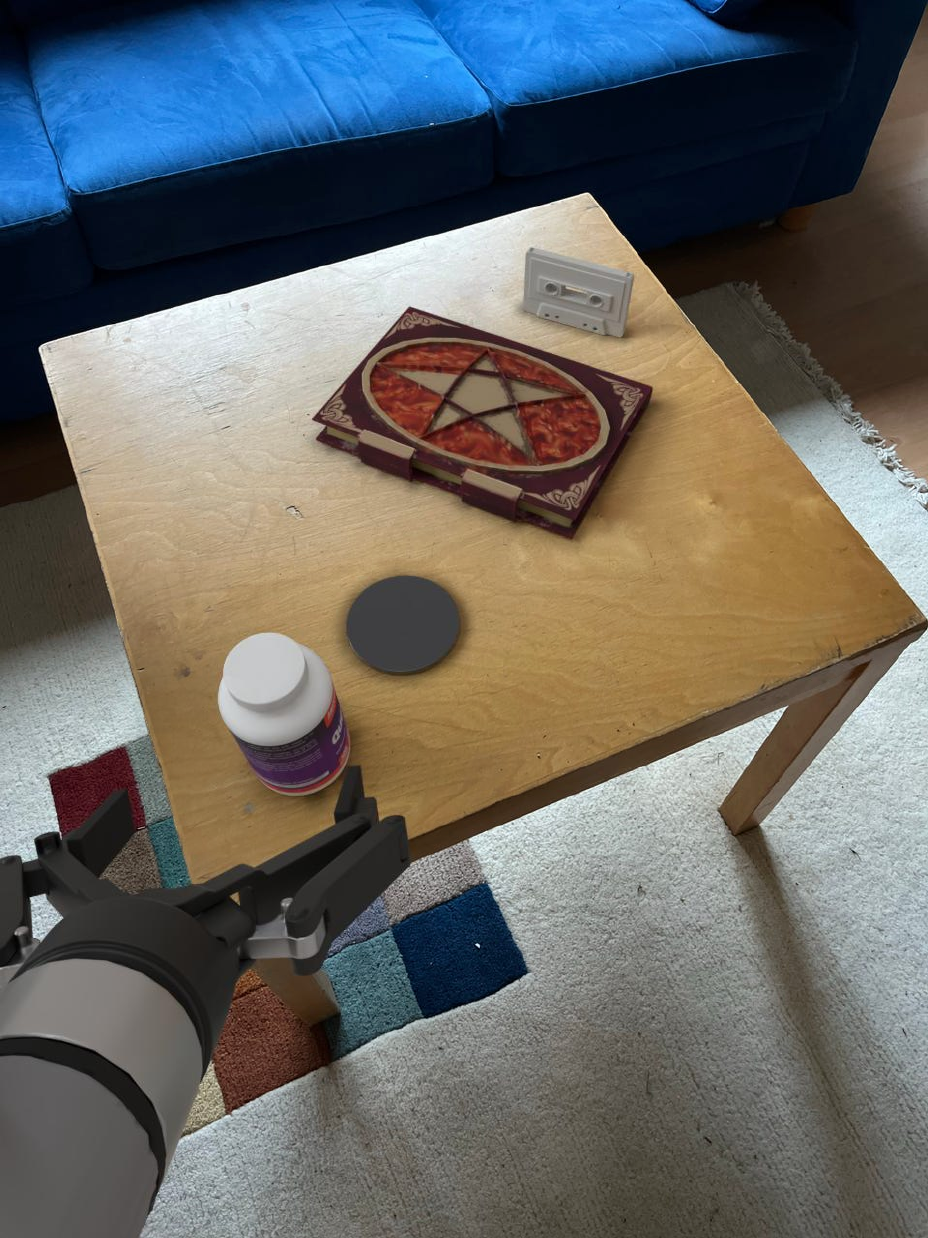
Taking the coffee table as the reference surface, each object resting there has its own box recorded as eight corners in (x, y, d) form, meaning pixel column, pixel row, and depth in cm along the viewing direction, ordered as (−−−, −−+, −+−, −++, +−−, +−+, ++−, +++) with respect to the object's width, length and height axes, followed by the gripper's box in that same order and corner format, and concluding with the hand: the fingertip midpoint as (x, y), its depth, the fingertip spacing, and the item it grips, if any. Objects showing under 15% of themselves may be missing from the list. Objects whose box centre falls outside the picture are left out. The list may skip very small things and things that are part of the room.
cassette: (626, 330, 96) (637, 270, 89) (620, 341, 95) (631, 281, 88) (526, 303, 99) (529, 243, 92) (520, 313, 98) (523, 253, 91)
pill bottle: (365, 779, 68) (340, 697, 56) (267, 815, 67) (219, 740, 55) (335, 694, 72) (305, 601, 60) (242, 727, 71) (192, 638, 59)
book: (648, 407, 90) (657, 369, 86) (568, 548, 80) (574, 513, 76) (413, 327, 98) (410, 289, 93) (312, 447, 87) (304, 410, 83)
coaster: (335, 668, 74) (334, 664, 73) (359, 573, 79) (358, 569, 79) (450, 681, 73) (450, 678, 72) (466, 584, 78) (466, 581, 78)
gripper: (-239, 1180, 30) (41, 880, 51) (471, 1106, 30) (460, 837, 51) (-298, 988, 29) (15, 760, 49) (449, 911, 29) (447, 716, 49)
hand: (241, 799), depth 50 cm, fingers open, 13 cm apart
